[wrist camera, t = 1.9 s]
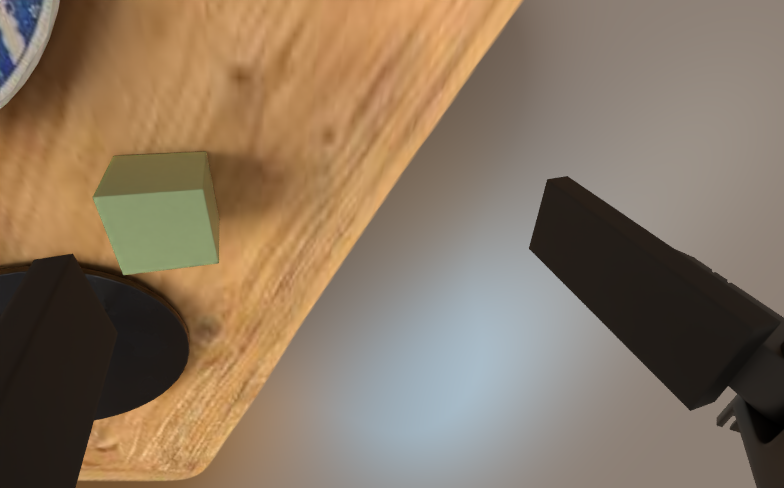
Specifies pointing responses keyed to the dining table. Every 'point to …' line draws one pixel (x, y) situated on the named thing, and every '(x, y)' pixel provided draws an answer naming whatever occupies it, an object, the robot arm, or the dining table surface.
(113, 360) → the lid
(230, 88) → the dining table surface
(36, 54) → the ceramic plate
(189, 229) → the block
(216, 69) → the dining table surface
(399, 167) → the dining table surface
